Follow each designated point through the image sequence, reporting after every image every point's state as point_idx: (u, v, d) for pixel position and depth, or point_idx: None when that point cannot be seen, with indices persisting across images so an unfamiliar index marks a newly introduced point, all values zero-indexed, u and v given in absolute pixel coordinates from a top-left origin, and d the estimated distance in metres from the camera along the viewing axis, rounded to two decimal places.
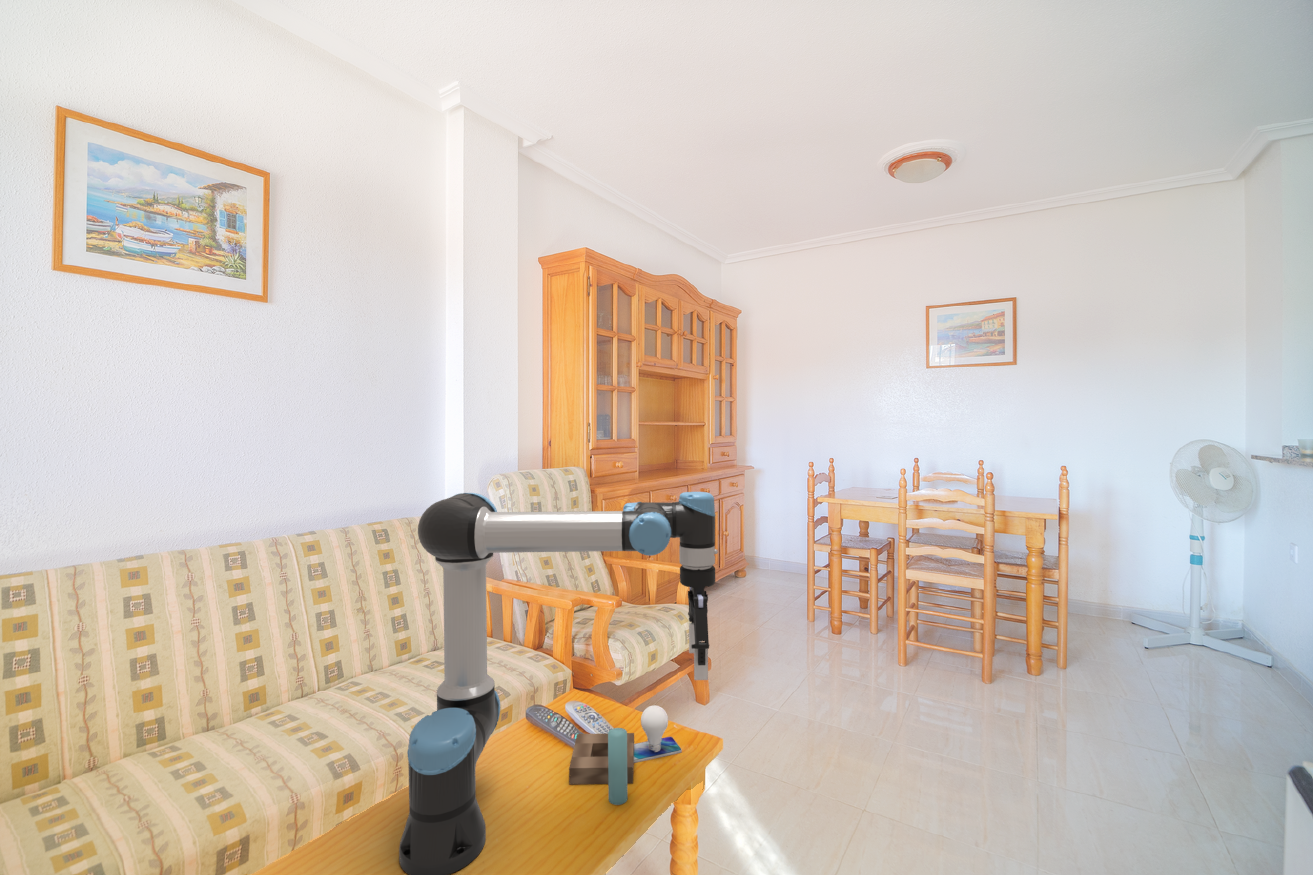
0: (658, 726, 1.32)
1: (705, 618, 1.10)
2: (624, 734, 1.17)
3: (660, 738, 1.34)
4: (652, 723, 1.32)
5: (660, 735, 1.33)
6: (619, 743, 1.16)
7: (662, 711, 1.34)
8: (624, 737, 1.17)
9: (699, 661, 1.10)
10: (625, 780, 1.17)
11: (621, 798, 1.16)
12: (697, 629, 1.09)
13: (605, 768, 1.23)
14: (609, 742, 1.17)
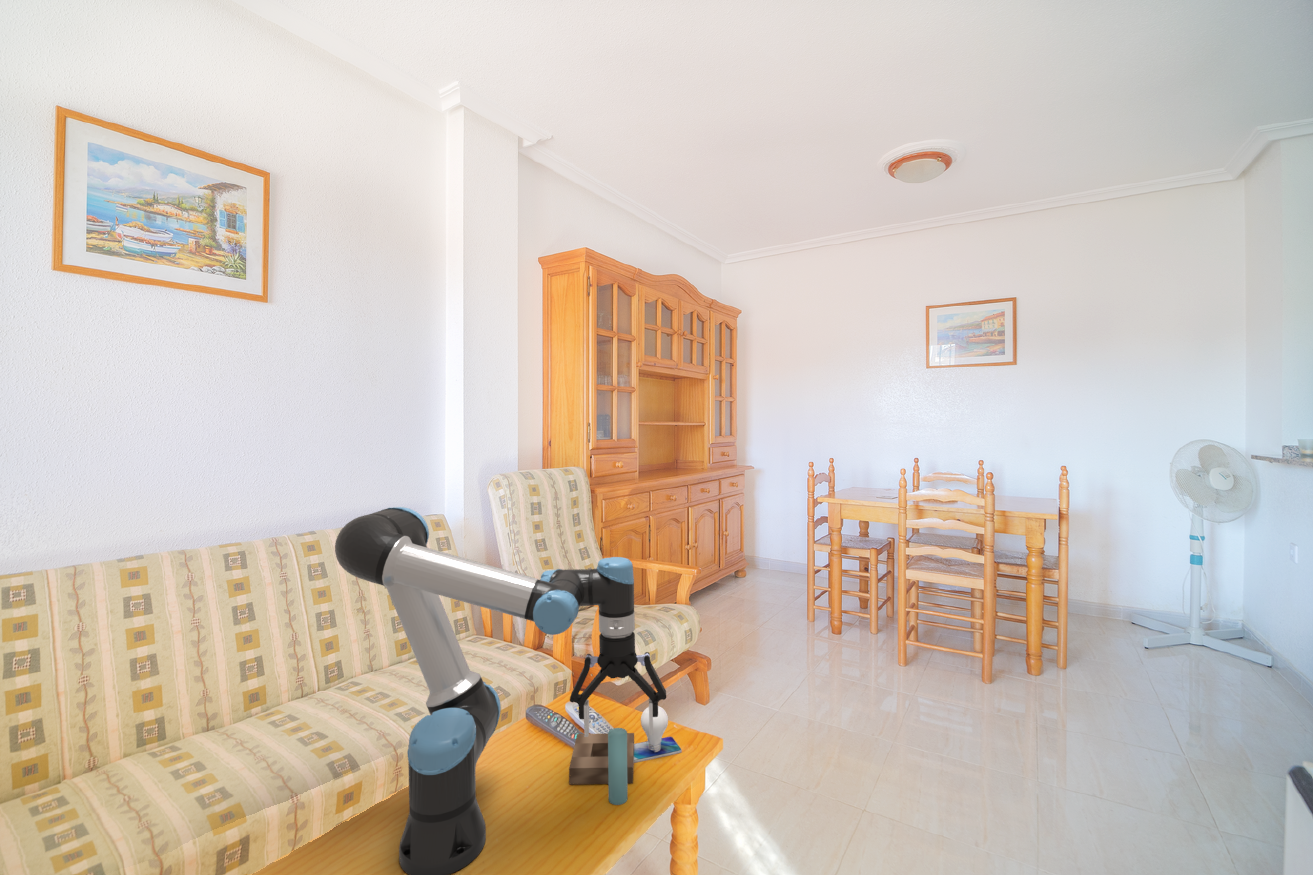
0: (658, 726, 1.32)
1: (580, 676, 1.17)
2: (624, 734, 1.17)
3: (660, 738, 1.34)
4: None
5: (660, 735, 1.33)
6: (619, 743, 1.16)
7: (662, 711, 1.34)
8: (624, 737, 1.17)
9: None
10: (625, 780, 1.17)
11: (621, 798, 1.16)
12: None
13: (605, 768, 1.23)
14: (609, 742, 1.17)
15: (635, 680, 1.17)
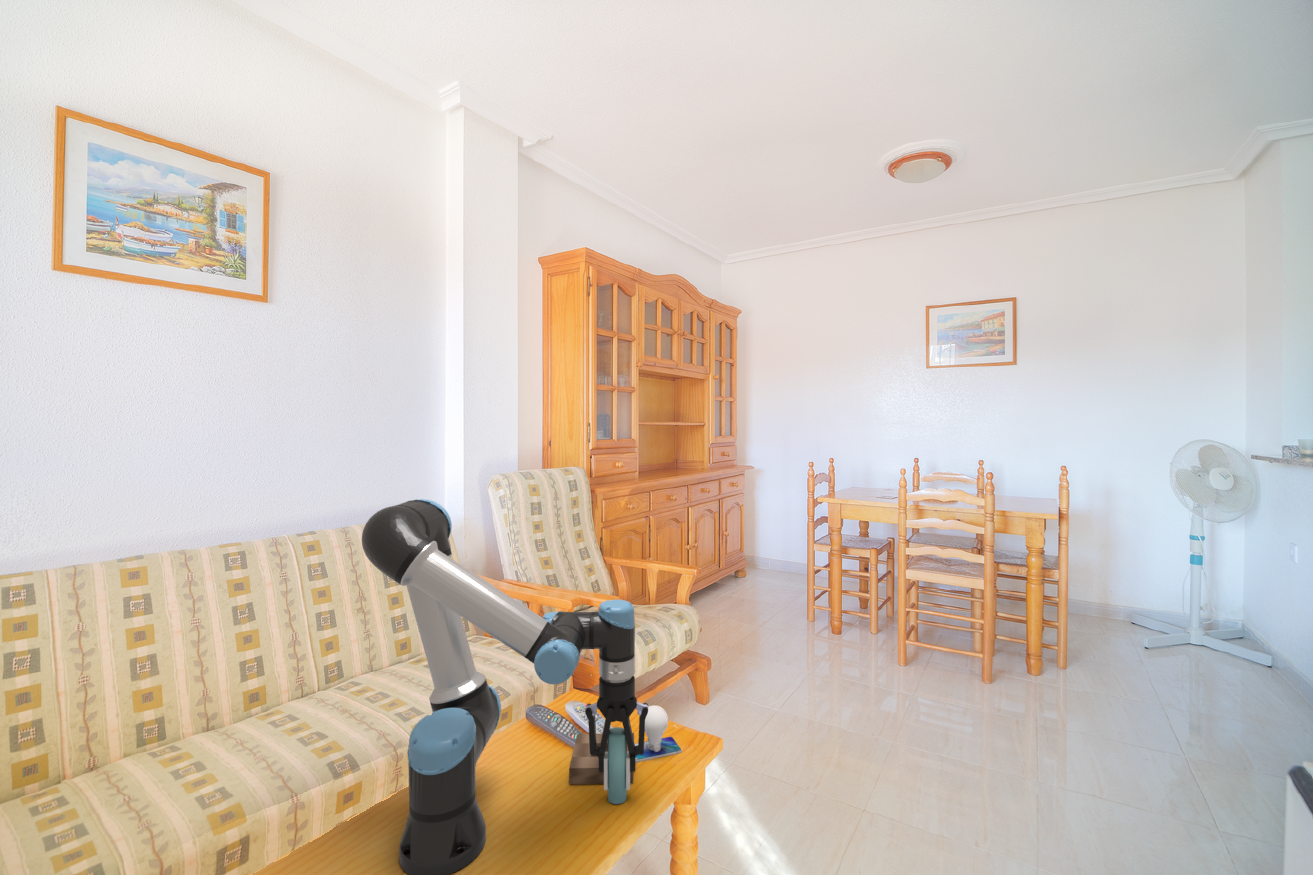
0: (658, 726, 1.32)
1: None
2: (624, 733, 1.17)
3: (660, 738, 1.34)
4: (652, 723, 1.32)
5: (660, 735, 1.33)
6: (619, 743, 1.16)
7: (662, 711, 1.34)
8: (624, 736, 1.17)
9: None
10: (624, 779, 1.17)
11: (620, 797, 1.16)
12: None
13: None
14: (609, 741, 1.17)
15: (625, 728, 1.17)
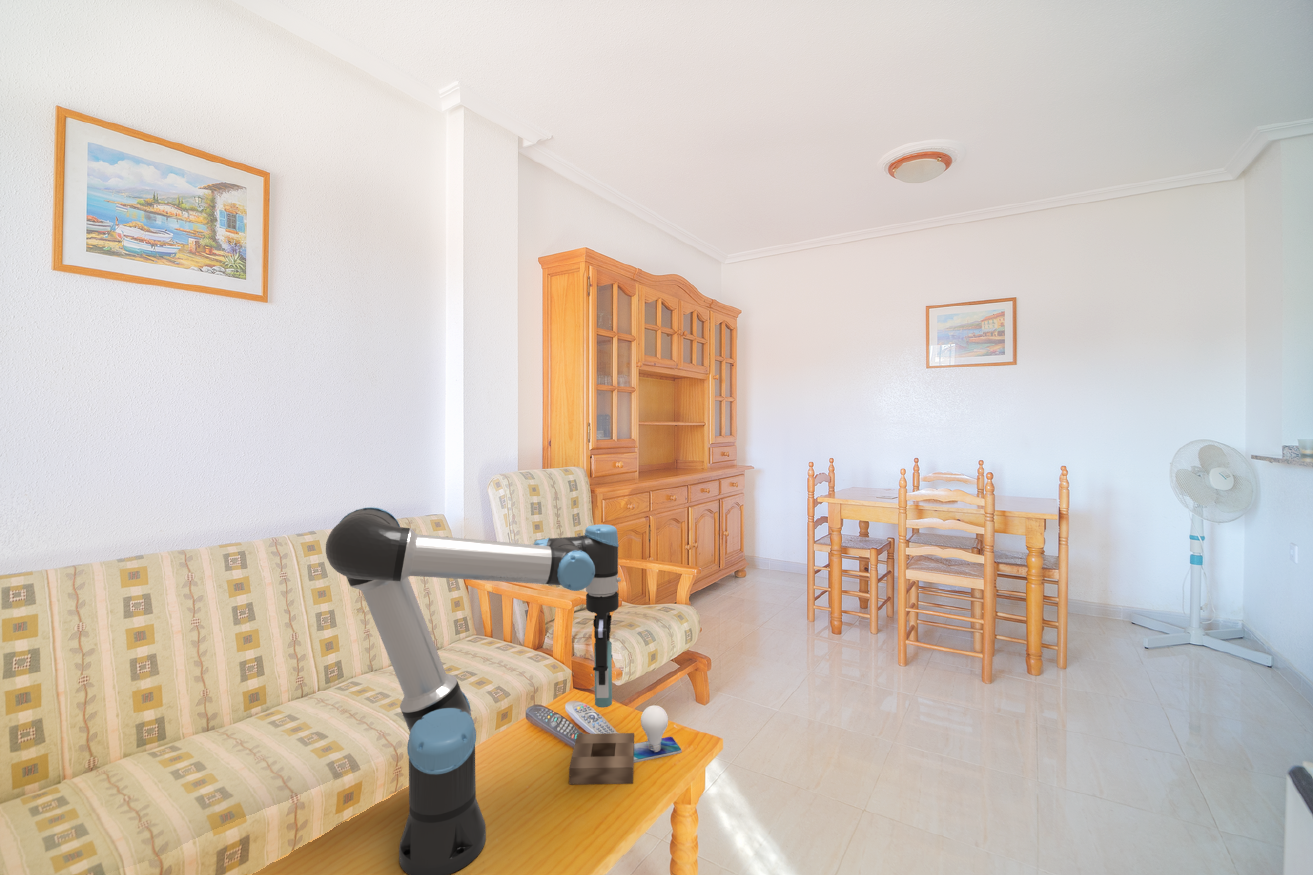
0: (658, 726, 1.32)
1: (604, 647, 1.24)
2: None
3: (660, 738, 1.34)
4: (652, 723, 1.32)
5: (660, 735, 1.33)
6: None
7: (662, 711, 1.34)
8: None
9: (599, 681, 1.26)
10: None
11: None
12: (596, 656, 1.24)
13: (605, 768, 1.23)
14: (607, 651, 1.28)
15: None
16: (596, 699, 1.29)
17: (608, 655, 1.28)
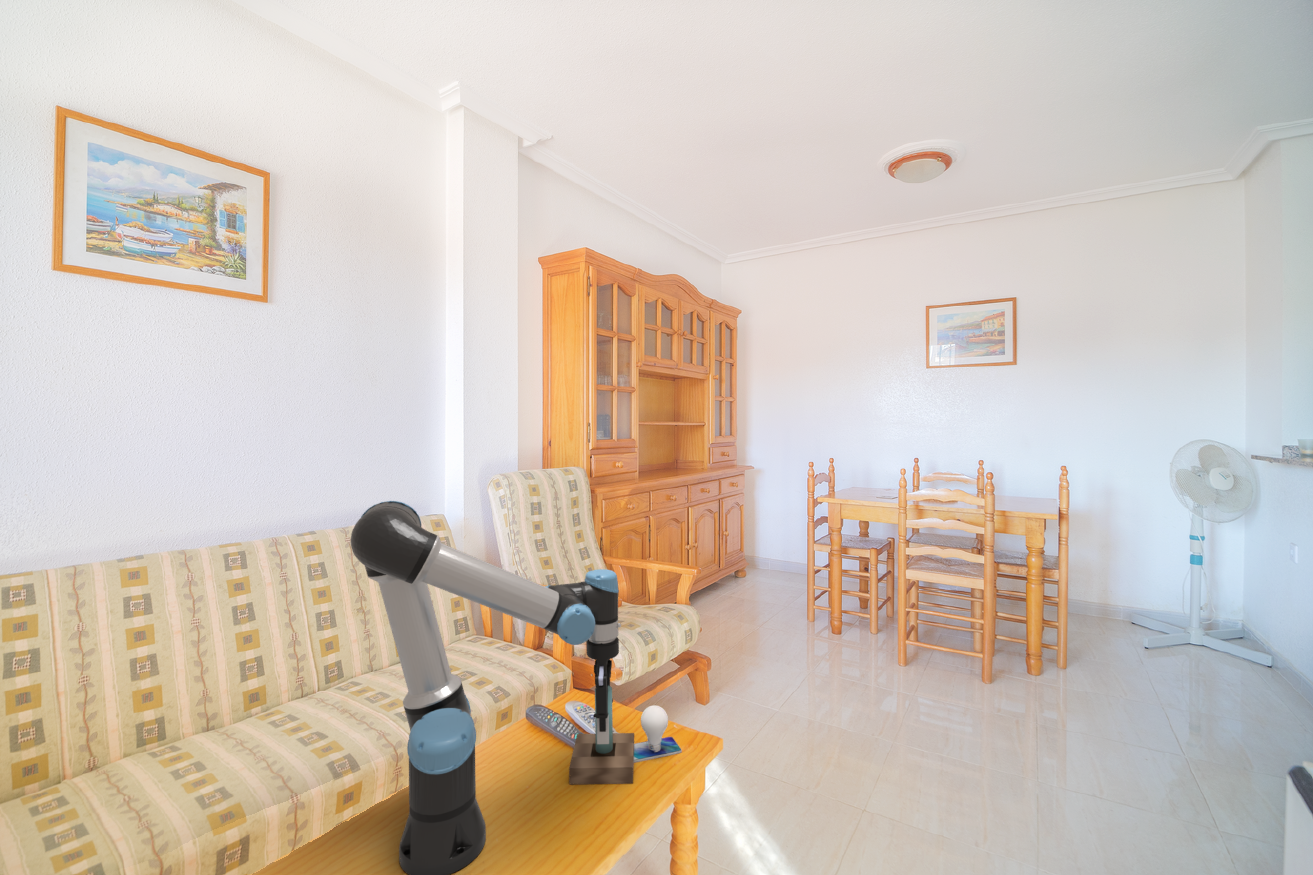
0: (658, 726, 1.32)
1: (604, 695, 1.24)
2: None
3: (660, 738, 1.34)
4: (652, 723, 1.32)
5: (660, 735, 1.33)
6: None
7: (662, 711, 1.34)
8: None
9: (600, 728, 1.26)
10: None
11: None
12: (597, 704, 1.24)
13: (605, 768, 1.23)
14: None
15: None
16: (597, 745, 1.29)
17: (609, 701, 1.28)
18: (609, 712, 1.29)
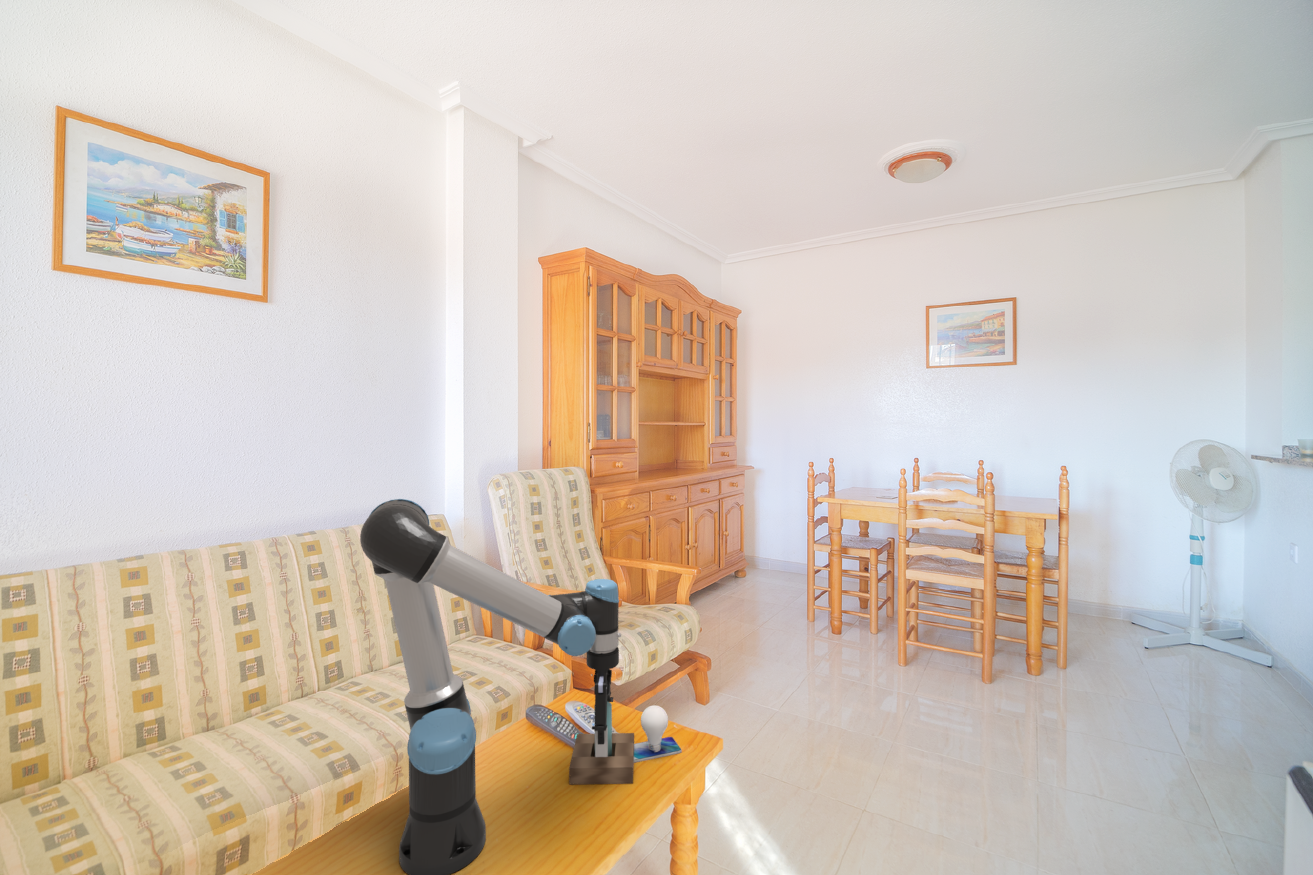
0: (658, 726, 1.32)
1: (604, 703, 1.23)
2: None
3: (660, 738, 1.34)
4: (652, 723, 1.32)
5: (660, 735, 1.33)
6: None
7: (662, 711, 1.34)
8: None
9: (598, 741, 1.23)
10: None
11: None
12: (596, 713, 1.22)
13: (605, 768, 1.23)
14: (607, 714, 1.28)
15: None
16: None
17: (608, 718, 1.28)
18: (609, 729, 1.29)
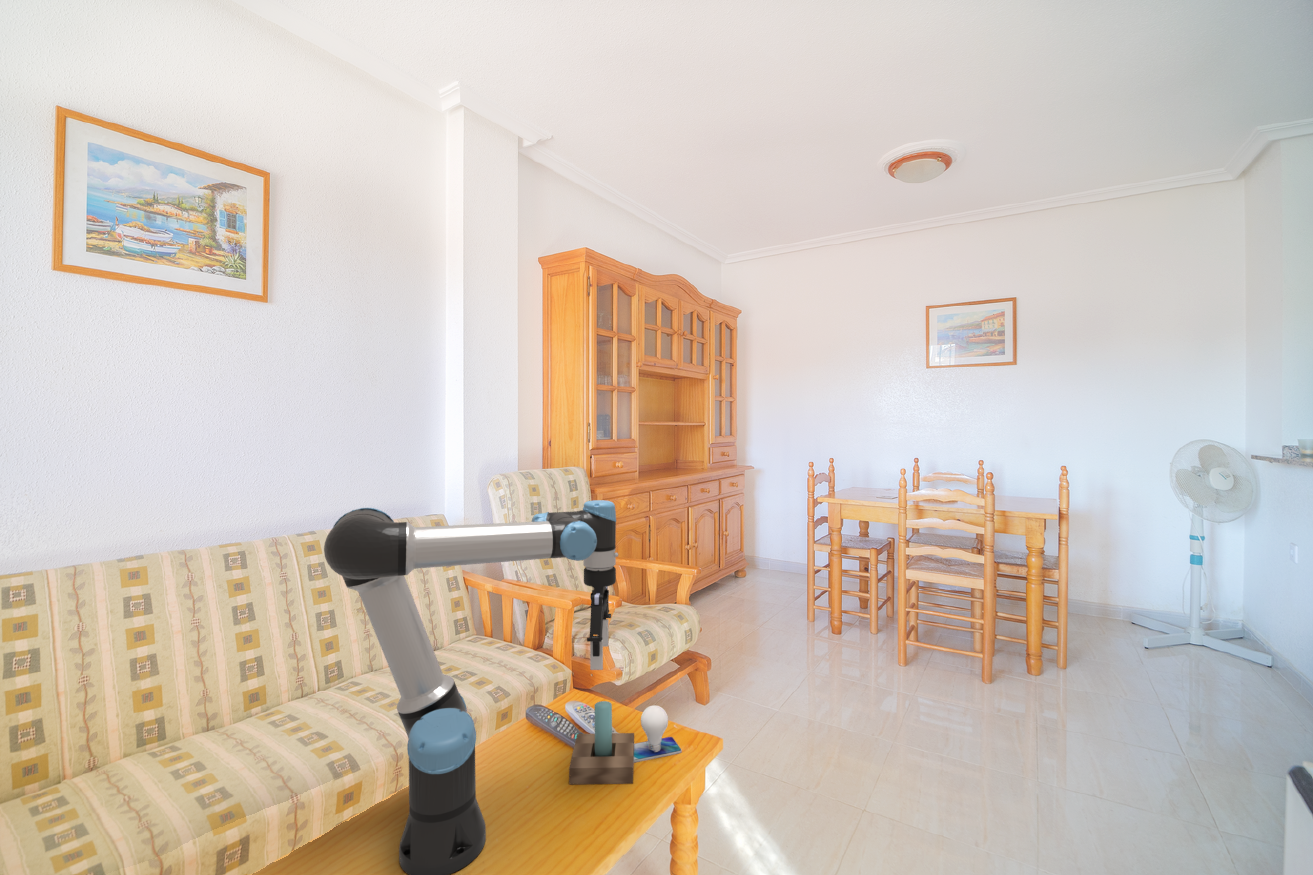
0: (658, 726, 1.32)
1: (599, 614, 1.23)
2: (606, 702, 1.31)
3: (660, 738, 1.34)
4: (652, 723, 1.32)
5: (660, 735, 1.33)
6: None
7: (662, 711, 1.34)
8: None
9: (593, 653, 1.23)
10: None
11: None
12: (591, 624, 1.22)
13: (605, 768, 1.23)
14: (607, 714, 1.28)
15: (606, 603, 1.35)
16: None
17: (608, 717, 1.28)
18: (609, 729, 1.29)
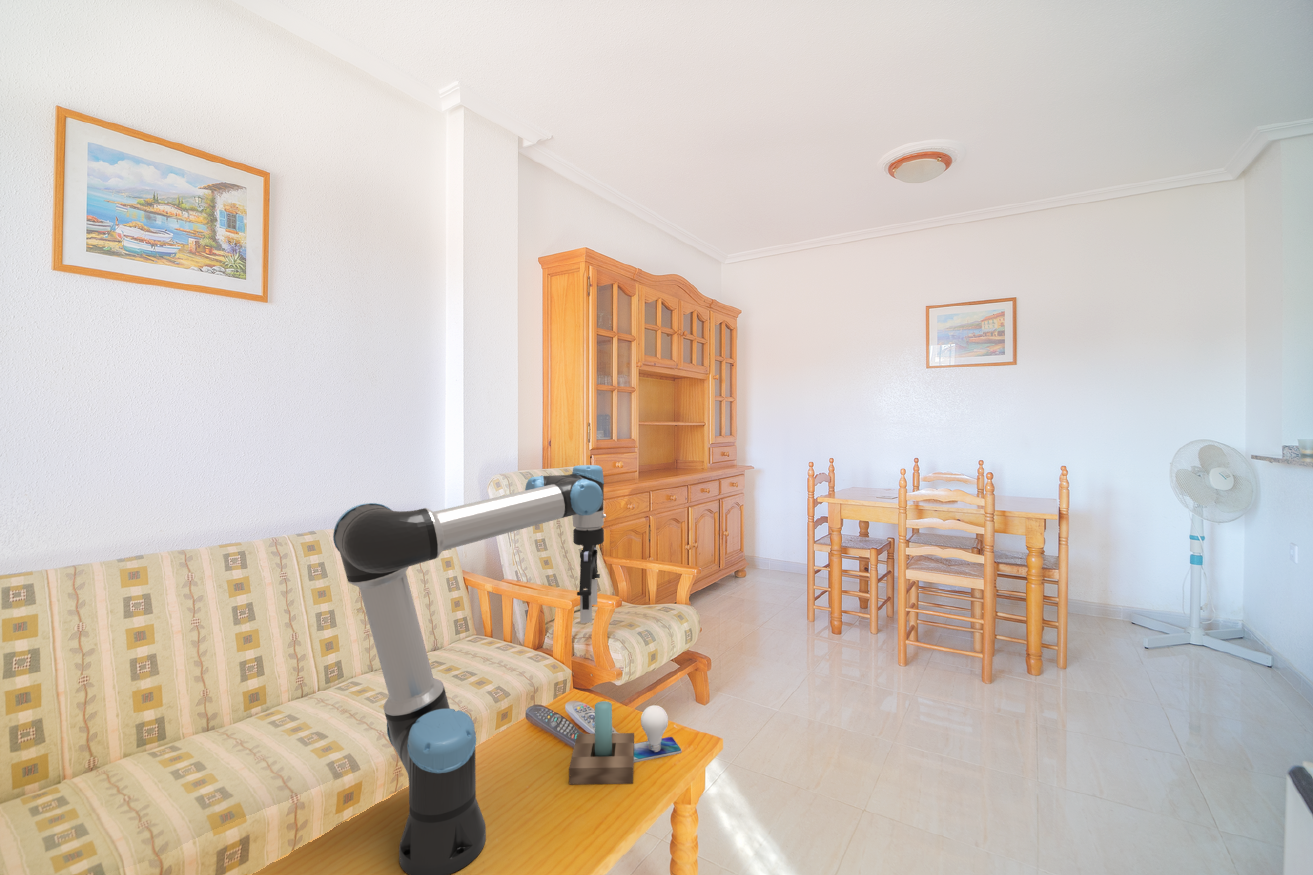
0: (658, 726, 1.32)
1: (588, 570, 1.31)
2: (606, 702, 1.31)
3: (660, 738, 1.34)
4: (652, 723, 1.32)
5: (660, 735, 1.33)
6: None
7: (662, 711, 1.34)
8: None
9: (583, 606, 1.30)
10: None
11: None
12: (581, 579, 1.30)
13: (605, 768, 1.23)
14: (607, 714, 1.28)
15: (595, 563, 1.42)
16: None
17: (608, 718, 1.28)
18: (609, 729, 1.29)
